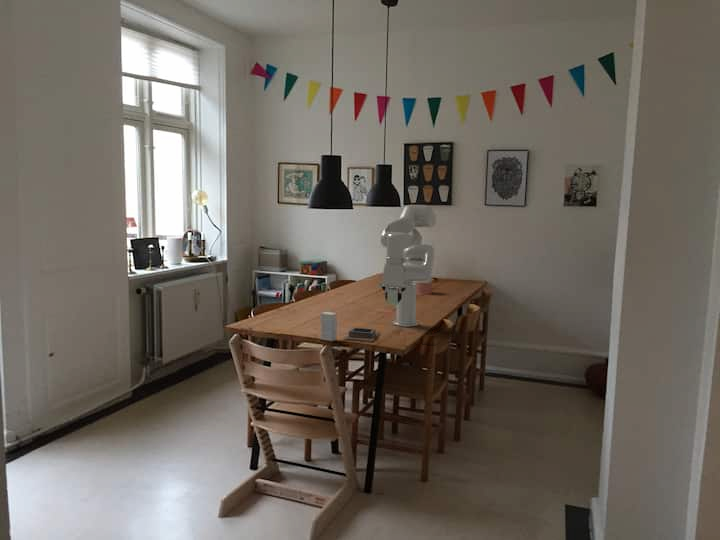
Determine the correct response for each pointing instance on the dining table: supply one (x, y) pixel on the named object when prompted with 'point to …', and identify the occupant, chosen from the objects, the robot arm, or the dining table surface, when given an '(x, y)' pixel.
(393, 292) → the key block
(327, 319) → the skincare box
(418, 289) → the canned food
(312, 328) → the dining table surface
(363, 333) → the keyed holder
